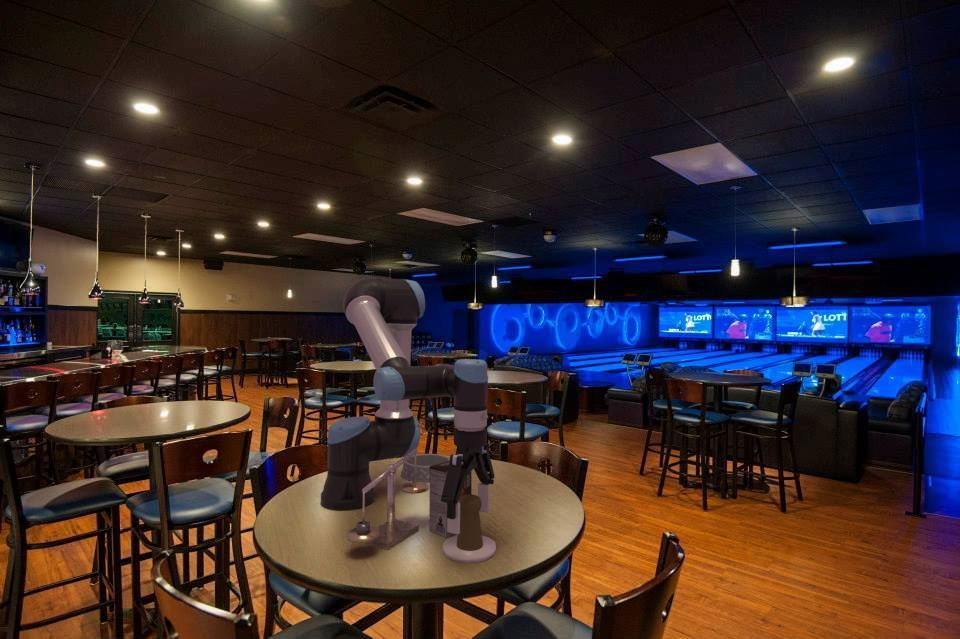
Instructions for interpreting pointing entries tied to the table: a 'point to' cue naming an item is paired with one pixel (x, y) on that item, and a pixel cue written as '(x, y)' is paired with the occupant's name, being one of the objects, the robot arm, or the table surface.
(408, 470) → the dog bowl
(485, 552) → the dish
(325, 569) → the table surface
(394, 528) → the balance
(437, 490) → the coffee box
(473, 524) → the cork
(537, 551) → the table surface
